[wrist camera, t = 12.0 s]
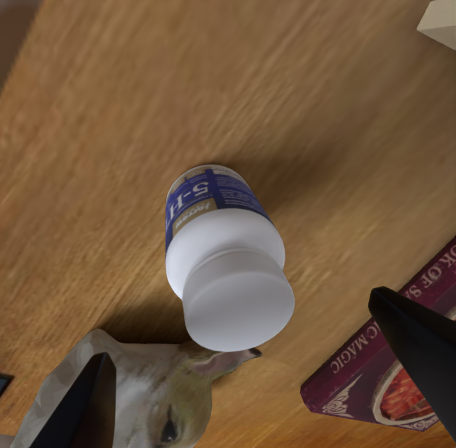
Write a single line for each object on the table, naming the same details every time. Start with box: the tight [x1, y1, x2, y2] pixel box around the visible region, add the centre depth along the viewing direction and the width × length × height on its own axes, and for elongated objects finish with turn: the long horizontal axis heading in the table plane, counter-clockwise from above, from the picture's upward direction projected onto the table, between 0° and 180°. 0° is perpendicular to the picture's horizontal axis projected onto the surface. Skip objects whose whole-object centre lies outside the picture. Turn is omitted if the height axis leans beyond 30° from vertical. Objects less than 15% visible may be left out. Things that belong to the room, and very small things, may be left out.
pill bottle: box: [165, 165, 295, 352], centre depth 13 cm, size 5×5×9 cm
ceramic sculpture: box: [10, 329, 263, 448], centre depth 19 cm, size 11×9×15 cm
